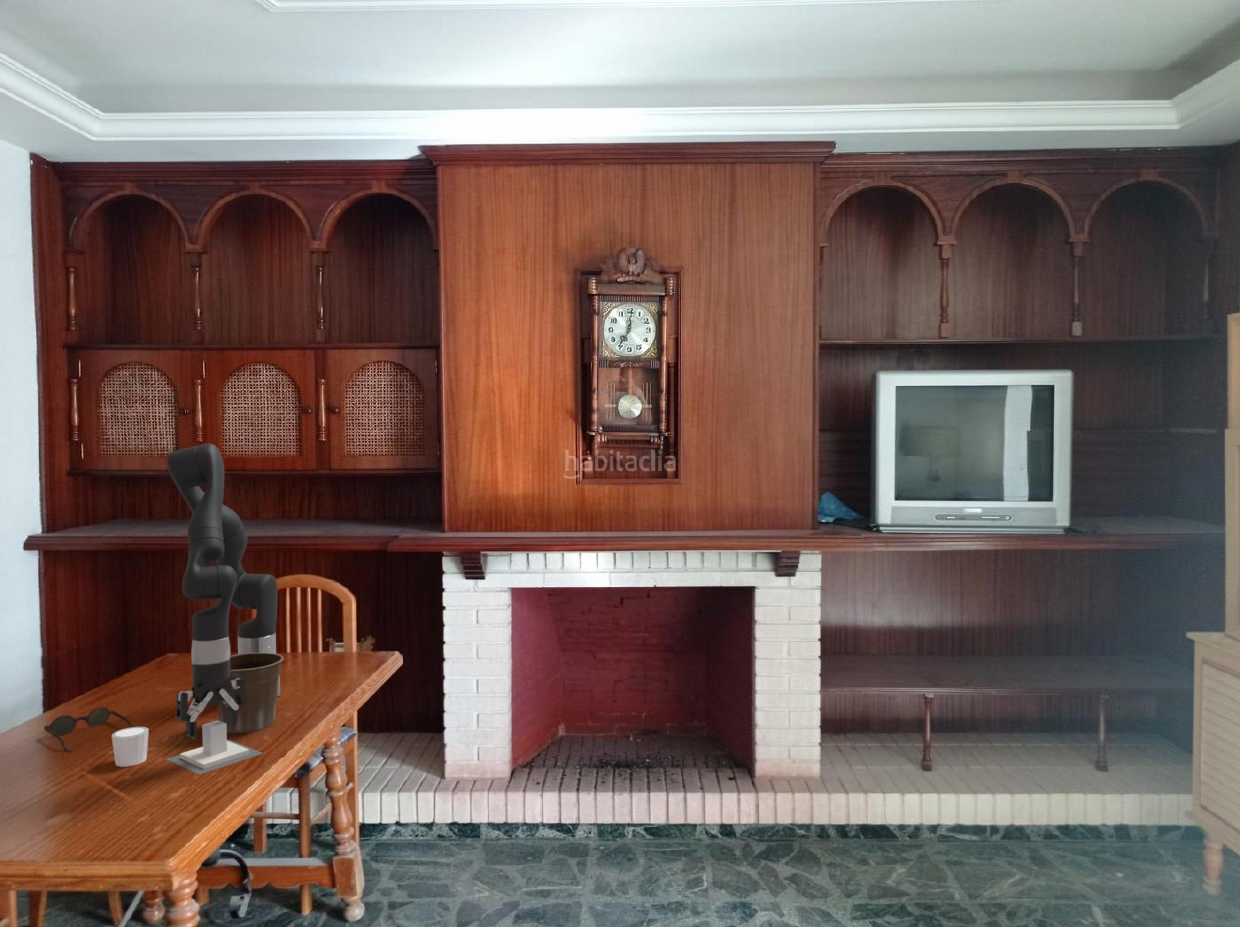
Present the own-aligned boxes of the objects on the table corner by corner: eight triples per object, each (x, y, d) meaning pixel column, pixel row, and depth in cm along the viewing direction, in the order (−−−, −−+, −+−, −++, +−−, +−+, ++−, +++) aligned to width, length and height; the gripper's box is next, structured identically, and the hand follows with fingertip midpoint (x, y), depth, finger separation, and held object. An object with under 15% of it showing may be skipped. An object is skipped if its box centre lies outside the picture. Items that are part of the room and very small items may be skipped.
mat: (229, 741, 191) (229, 739, 191) (263, 755, 183) (263, 753, 183) (166, 761, 180) (166, 758, 180) (199, 777, 172) (199, 774, 172)
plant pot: (253, 711, 212) (251, 648, 211) (299, 720, 205) (297, 656, 204) (195, 732, 197) (193, 665, 197) (243, 743, 190) (241, 673, 190)
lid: (225, 743, 188) (224, 713, 188) (249, 753, 182) (248, 722, 182) (180, 758, 180) (179, 726, 180) (204, 769, 174) (203, 736, 174)
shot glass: (132, 771, 175) (131, 738, 175) (104, 769, 176) (103, 736, 176) (157, 758, 182) (156, 727, 181) (129, 756, 183) (129, 725, 183)
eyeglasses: (113, 722, 206) (113, 702, 205) (138, 736, 196) (137, 715, 196) (44, 739, 194) (43, 718, 194) (66, 755, 185) (66, 733, 185)
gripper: (233, 648, 188) (235, 720, 189) (168, 662, 177) (170, 738, 177) (251, 654, 184) (252, 726, 184) (186, 668, 172) (187, 745, 173)
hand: (212, 732), depth 181 cm, fingers open, 8 cm apart
